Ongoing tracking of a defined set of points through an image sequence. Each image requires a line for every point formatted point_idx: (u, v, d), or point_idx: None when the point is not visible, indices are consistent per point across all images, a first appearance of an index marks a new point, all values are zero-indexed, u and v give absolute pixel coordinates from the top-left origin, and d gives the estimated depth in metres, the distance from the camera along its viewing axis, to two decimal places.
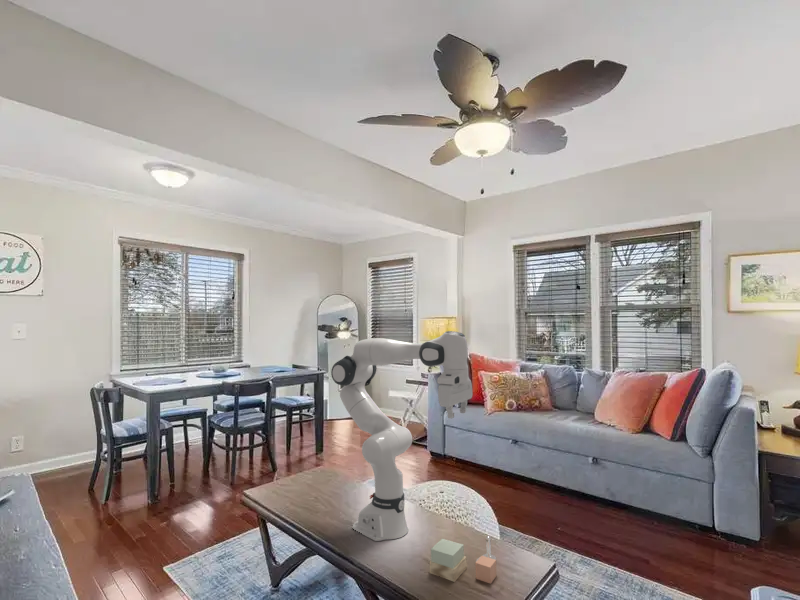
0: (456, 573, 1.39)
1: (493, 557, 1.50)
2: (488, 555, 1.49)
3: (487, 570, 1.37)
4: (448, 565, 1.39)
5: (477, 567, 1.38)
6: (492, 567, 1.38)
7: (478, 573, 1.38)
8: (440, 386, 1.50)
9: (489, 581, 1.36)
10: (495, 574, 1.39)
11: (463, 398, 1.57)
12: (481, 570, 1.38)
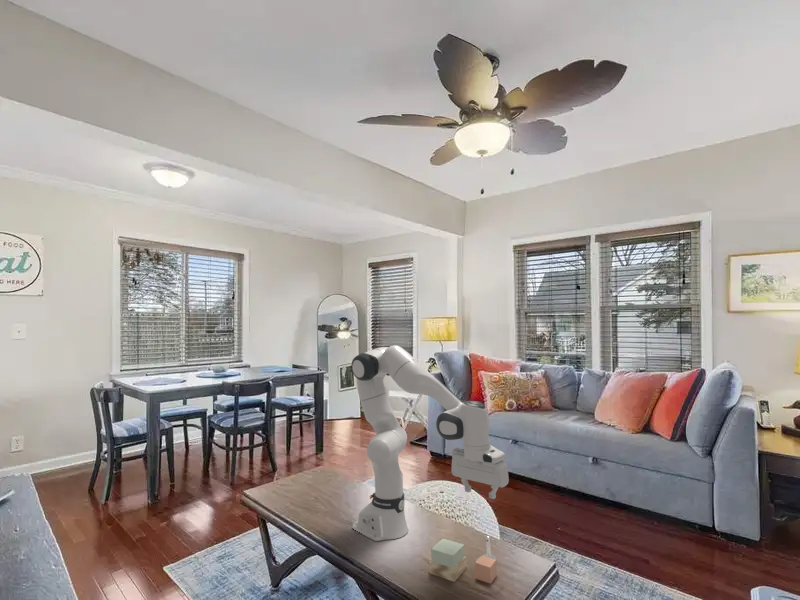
0: (456, 573, 1.39)
1: (493, 557, 1.50)
2: (488, 555, 1.49)
3: (487, 570, 1.37)
4: (448, 565, 1.39)
5: (477, 567, 1.38)
6: (492, 567, 1.38)
7: (478, 573, 1.38)
8: (498, 465, 1.36)
9: (489, 581, 1.36)
10: (495, 574, 1.39)
11: None
12: (481, 570, 1.38)
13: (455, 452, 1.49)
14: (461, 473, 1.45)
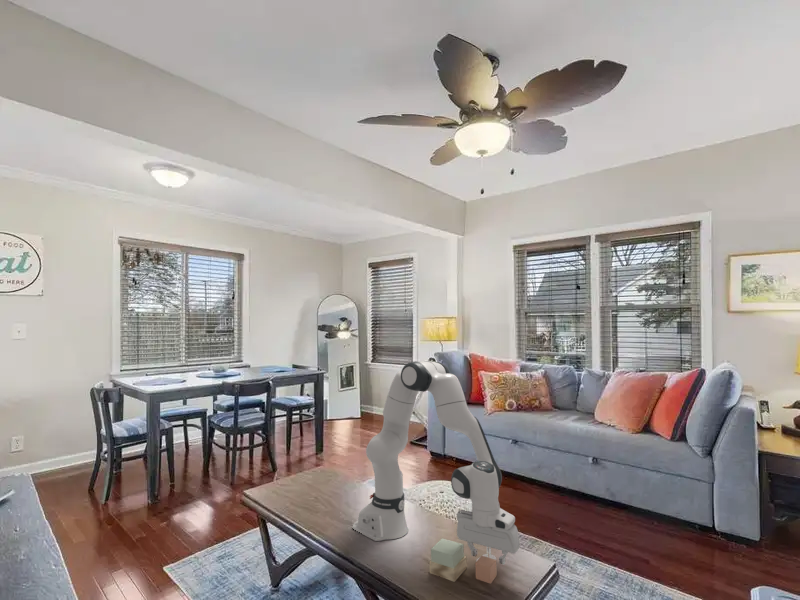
0: (456, 573, 1.39)
1: (493, 557, 1.50)
2: (488, 555, 1.49)
3: (487, 570, 1.37)
4: (448, 565, 1.39)
5: (477, 567, 1.38)
6: (492, 567, 1.38)
7: (478, 573, 1.38)
8: (511, 531, 1.34)
9: (489, 581, 1.36)
10: (495, 574, 1.39)
11: None
12: (481, 570, 1.38)
13: (460, 514, 1.45)
14: (468, 537, 1.42)
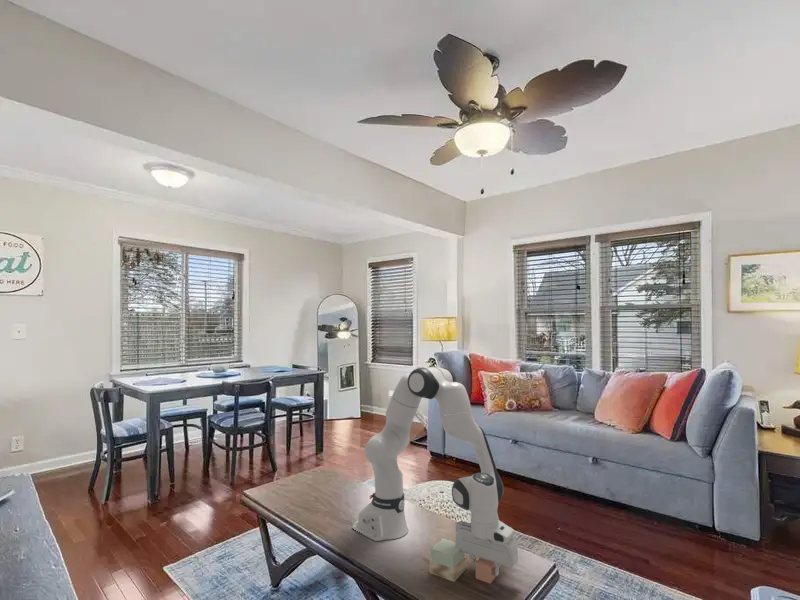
0: (456, 573, 1.39)
1: None
2: None
3: (486, 570, 1.37)
4: (448, 565, 1.39)
5: (477, 567, 1.38)
6: (492, 567, 1.38)
7: (478, 573, 1.38)
8: (510, 544, 1.34)
9: (489, 581, 1.36)
10: None
11: None
12: (481, 569, 1.38)
13: (459, 525, 1.45)
14: (467, 548, 1.41)
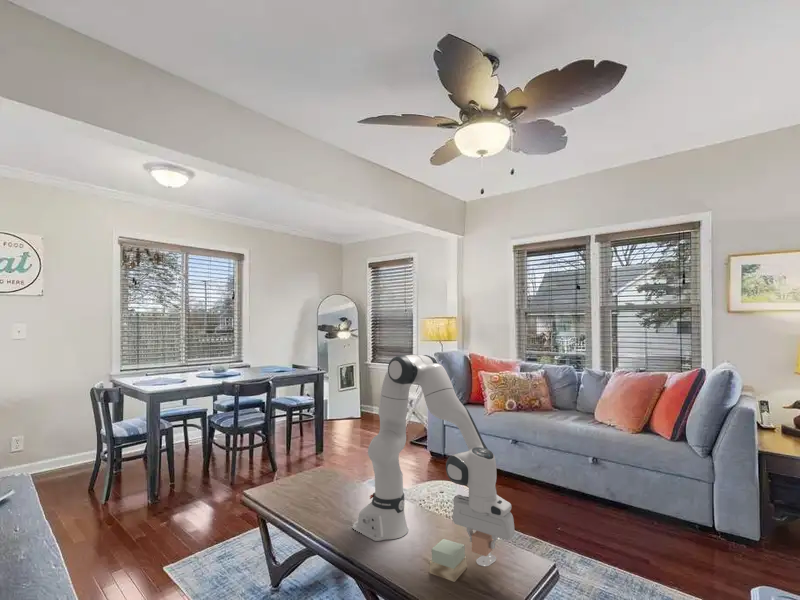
0: (456, 573, 1.39)
1: (493, 557, 1.50)
2: (488, 555, 1.49)
3: (483, 543, 1.37)
4: (449, 565, 1.39)
5: (473, 540, 1.39)
6: (488, 540, 1.38)
7: (474, 546, 1.39)
8: (507, 518, 1.34)
9: (485, 554, 1.36)
10: None
11: None
12: (477, 542, 1.38)
13: (457, 499, 1.45)
14: (464, 521, 1.42)
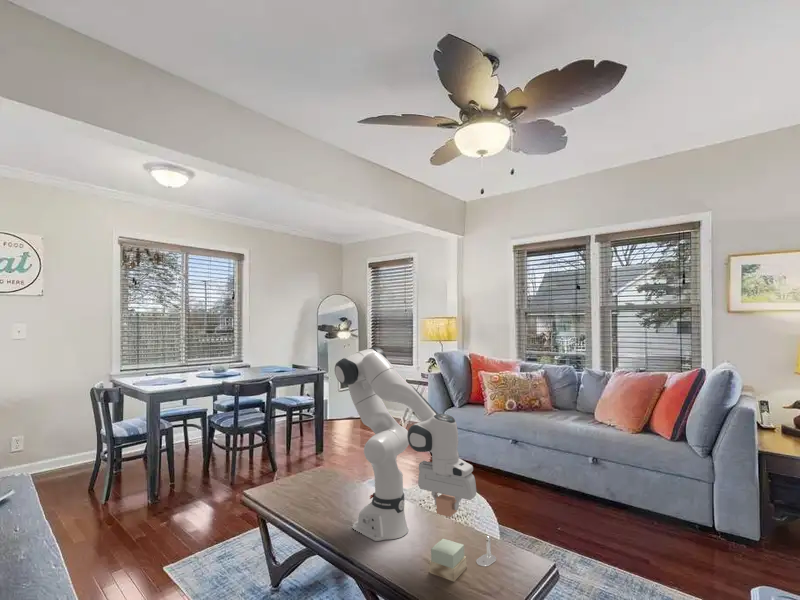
0: (456, 573, 1.39)
1: (493, 557, 1.50)
2: (488, 555, 1.49)
3: (446, 504, 1.42)
4: (448, 565, 1.39)
5: (438, 502, 1.43)
6: (452, 502, 1.43)
7: (439, 508, 1.43)
8: (468, 478, 1.39)
9: (449, 514, 1.41)
10: None
11: None
12: (442, 504, 1.43)
13: (422, 465, 1.50)
14: (428, 486, 1.46)
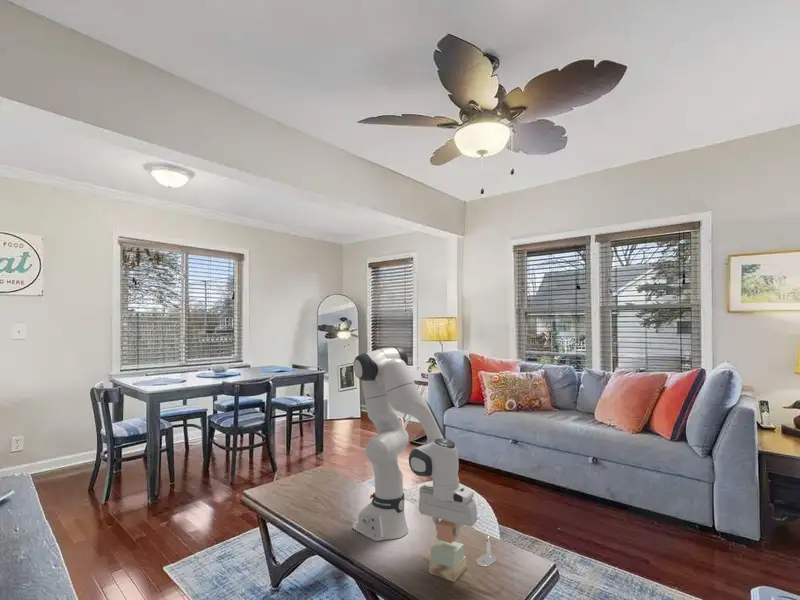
0: (456, 573, 1.39)
1: (493, 557, 1.50)
2: (488, 555, 1.49)
3: (447, 530, 1.41)
4: (448, 565, 1.39)
5: (438, 528, 1.43)
6: (453, 527, 1.42)
7: (439, 533, 1.43)
8: (468, 504, 1.38)
9: (450, 541, 1.41)
10: None
11: None
12: (442, 530, 1.42)
13: (423, 490, 1.49)
14: (429, 511, 1.46)
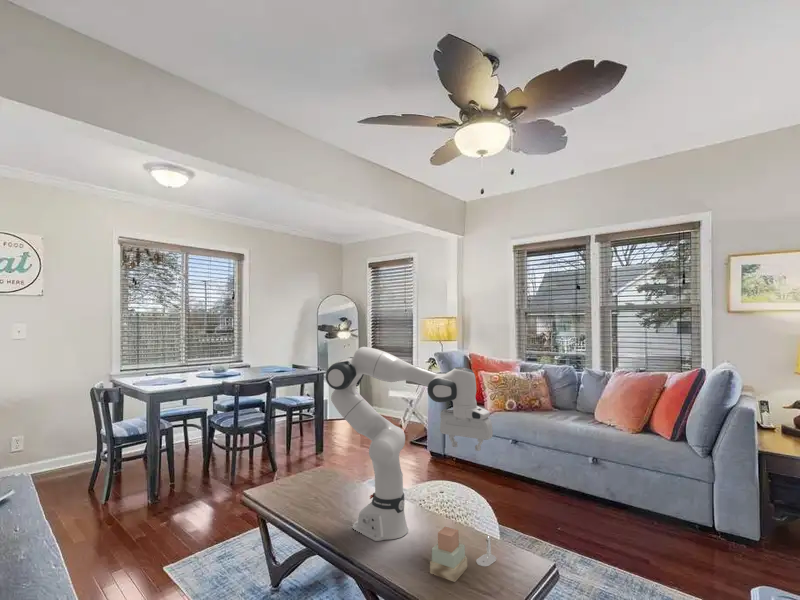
0: (457, 573, 1.38)
1: (493, 557, 1.50)
2: (488, 555, 1.49)
3: (448, 539, 1.41)
4: (449, 565, 1.39)
5: (439, 537, 1.43)
6: (454, 536, 1.42)
7: (440, 542, 1.43)
8: (485, 421, 1.57)
9: (450, 550, 1.40)
10: (457, 544, 1.44)
11: None
12: (443, 539, 1.42)
13: (444, 413, 1.68)
14: (450, 430, 1.65)
